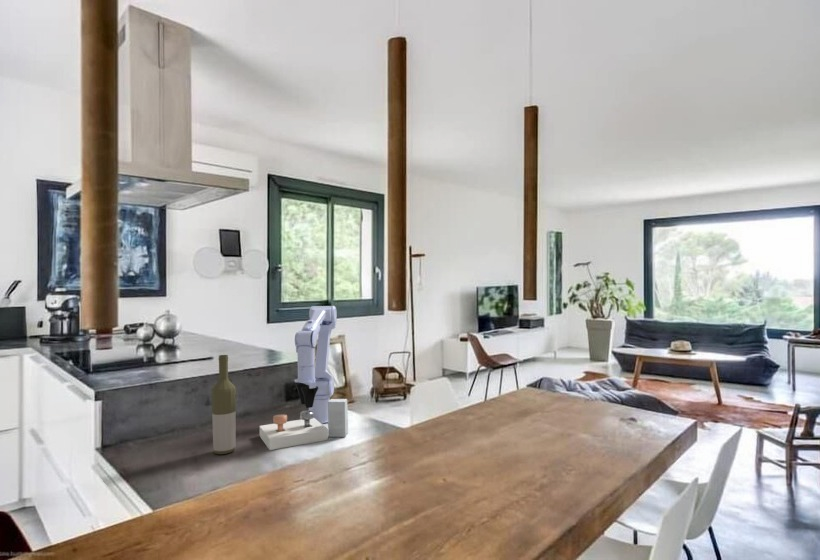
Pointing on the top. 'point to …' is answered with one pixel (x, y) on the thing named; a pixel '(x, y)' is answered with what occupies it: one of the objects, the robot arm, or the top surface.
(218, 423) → the bottle
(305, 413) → the plug
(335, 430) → the skincare box
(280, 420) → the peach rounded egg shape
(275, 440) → the panel
